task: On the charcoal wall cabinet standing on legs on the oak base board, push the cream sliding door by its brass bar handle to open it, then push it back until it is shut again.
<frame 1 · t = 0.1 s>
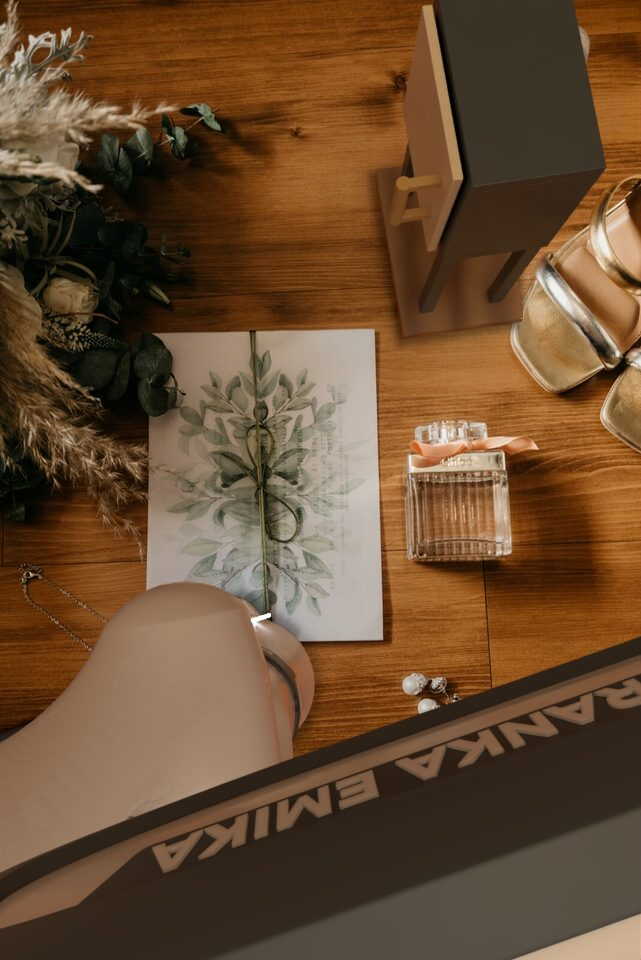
watch: (530, 97, 86), on the table
base board: (447, 248, 84), on the table
cabinet: (477, 177, 68), on the base board, point 16 cm above the table
slide door: (408, 143, 60), point 24 cm above the table, slide at 0.0 cm
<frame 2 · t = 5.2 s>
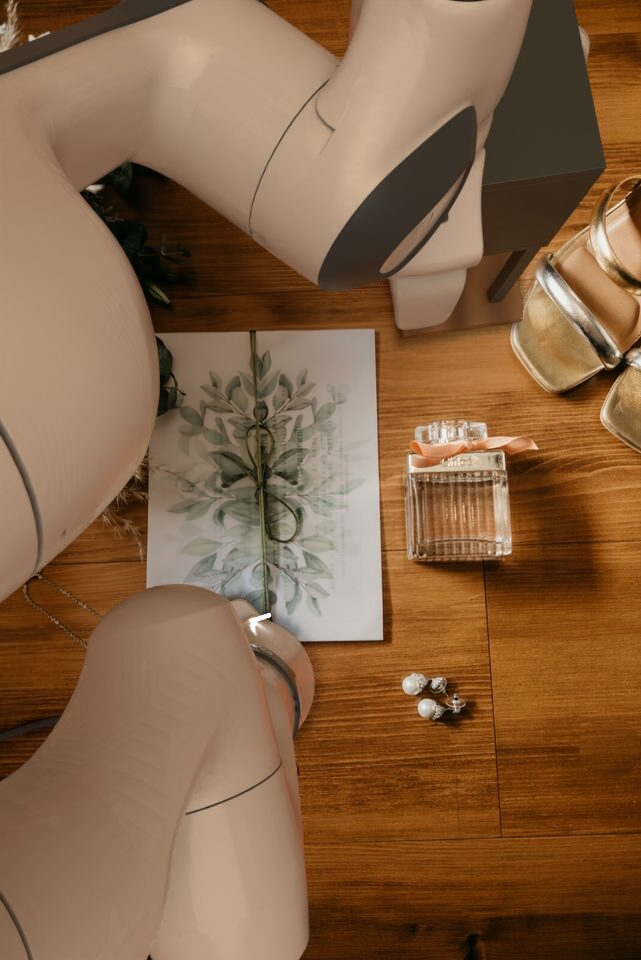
hand: (393, 230, 60), 24 cm above the table, tool pointing down, fingers closed
slide door: (407, 135, 60), point 24 cm above the table, slide at 0.7 cm, touching gripper
everything else where it was.
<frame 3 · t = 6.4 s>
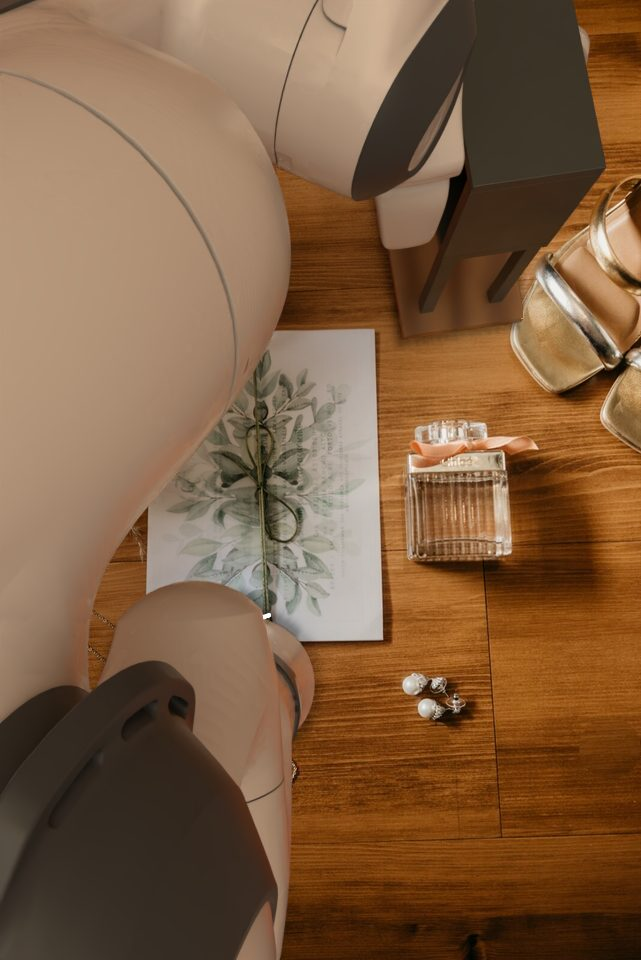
hand: (381, 158, 60), 24 cm above the table, tool pointing down, fingers closed
slide door: (394, 65, 61), point 24 cm above the table, slide at 7.0 cm, touching gripper
everything else where it was.
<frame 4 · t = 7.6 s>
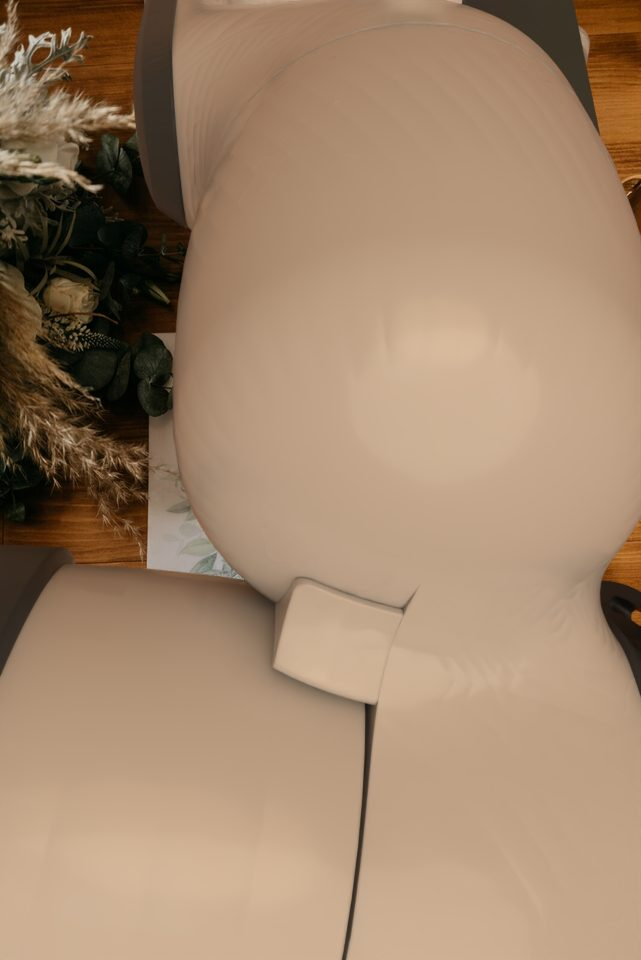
hand: (373, 107, 61), 24 cm above the table, tool pointing down, fingers closed
slide door: (387, 20, 61), point 24 cm above the table, slide at 11.1 cm, touching gripper
everything else where it was.
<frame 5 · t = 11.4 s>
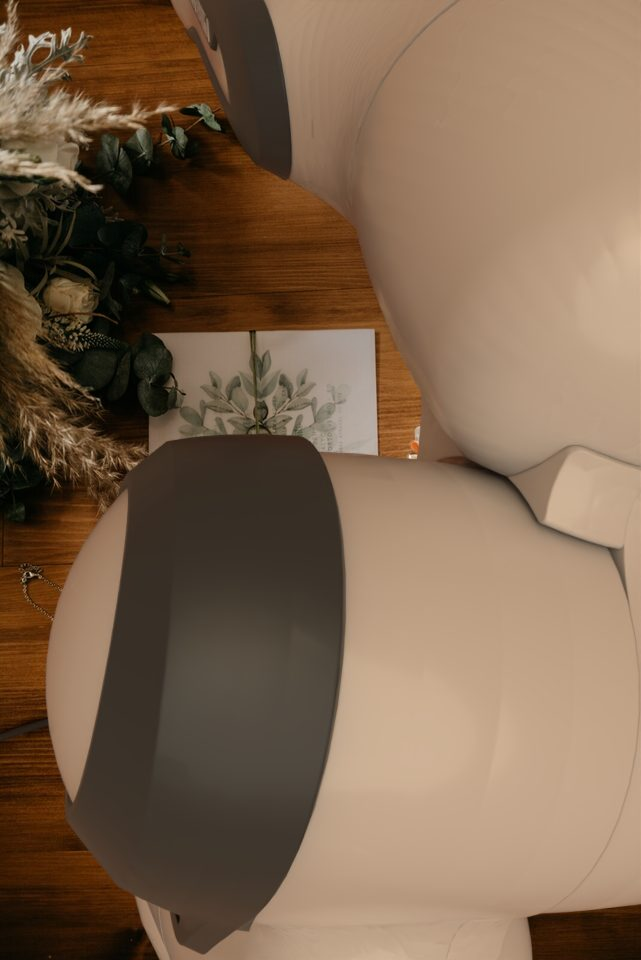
hand: (361, 57, 61), 24 cm above the table, tool pointing down, fingers closed
slide door: (388, 29, 61), point 24 cm above the table, slide at 10.3 cm, touching gripper
everything else where it was.
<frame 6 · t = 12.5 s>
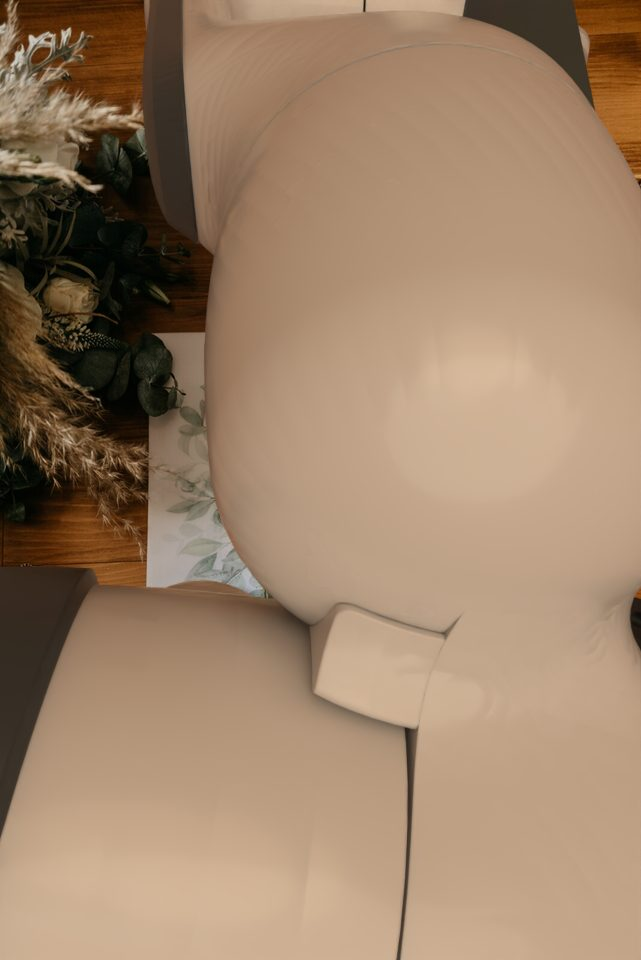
hand: (369, 108, 61), 24 cm above the table, tool pointing down, fingers closed
slide door: (397, 80, 61), point 24 cm above the table, slide at 5.6 cm, touching gripper
everything else where it was.
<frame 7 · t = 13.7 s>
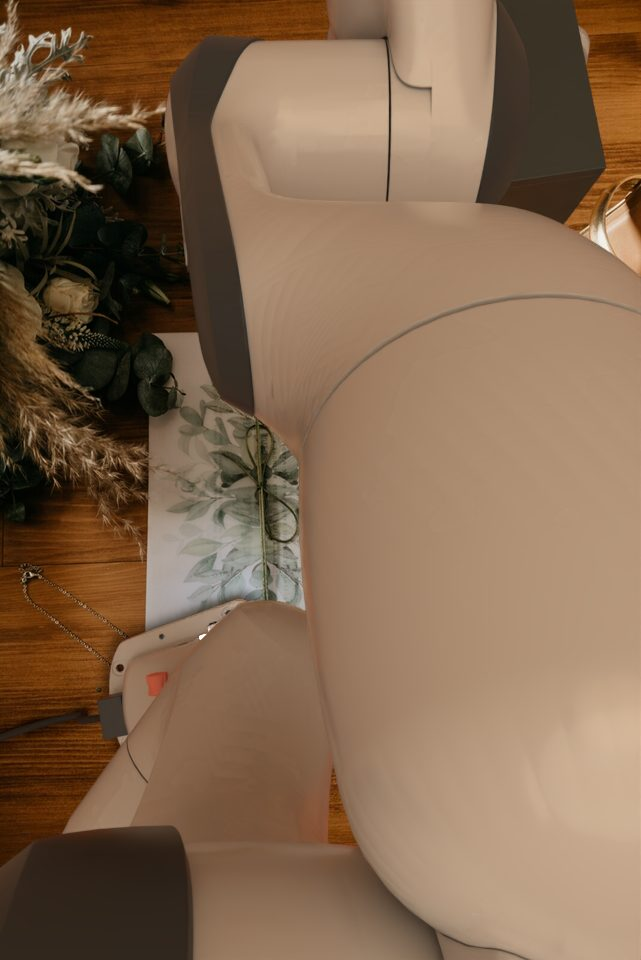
hand: (377, 185, 61), 23 cm above the table, tool pointing down, fingers closed
slide door: (408, 145, 60), point 24 cm above the table, slide at -0.2 cm, touching gripper
everything else where it was.
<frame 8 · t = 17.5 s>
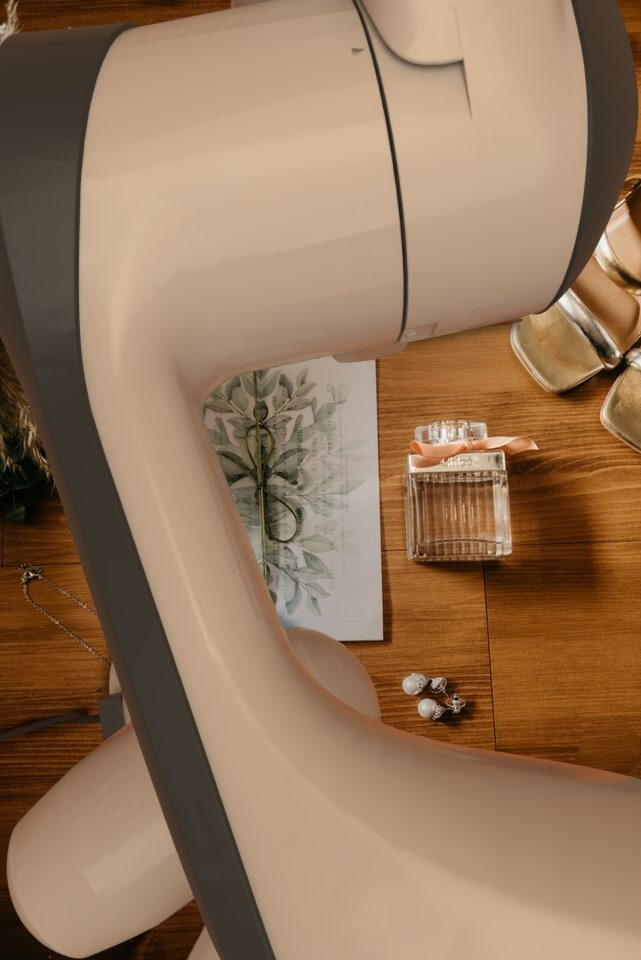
hand: (337, 224, 44), 39 cm above the table, tool pointing down, fingers closed
slide door: (408, 143, 60), point 24 cm above the table, slide at 0.0 cm
everything else where it was.
at the end: slide door pulled out 11.1 cm at the most during the clip, back to where it started at the end; slide door 0.2 cm off-centre on the base board, point 24.0 cm above the base board's base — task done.
